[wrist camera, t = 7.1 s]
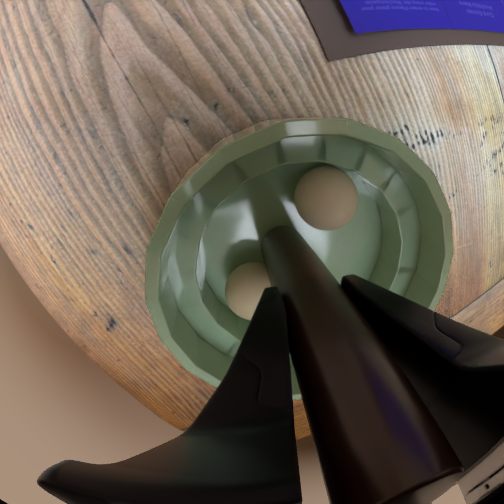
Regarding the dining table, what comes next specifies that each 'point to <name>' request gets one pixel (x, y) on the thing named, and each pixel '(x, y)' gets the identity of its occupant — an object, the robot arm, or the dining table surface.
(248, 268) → the bead
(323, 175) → the bead
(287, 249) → the stick
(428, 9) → the booklet
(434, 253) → the bowl
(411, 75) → the dining table surface
